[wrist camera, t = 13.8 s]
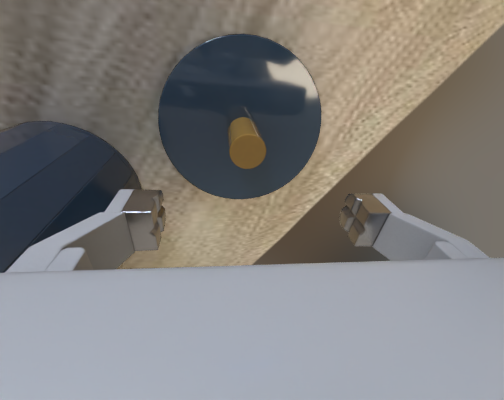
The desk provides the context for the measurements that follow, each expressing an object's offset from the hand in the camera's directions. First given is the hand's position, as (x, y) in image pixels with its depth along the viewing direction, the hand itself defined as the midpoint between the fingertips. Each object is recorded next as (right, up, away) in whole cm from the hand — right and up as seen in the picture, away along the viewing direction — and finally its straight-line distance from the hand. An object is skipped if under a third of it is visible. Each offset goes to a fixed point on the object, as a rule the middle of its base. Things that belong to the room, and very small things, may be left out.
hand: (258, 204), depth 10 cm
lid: (-1, +6, +8) cm, 10 cm away
